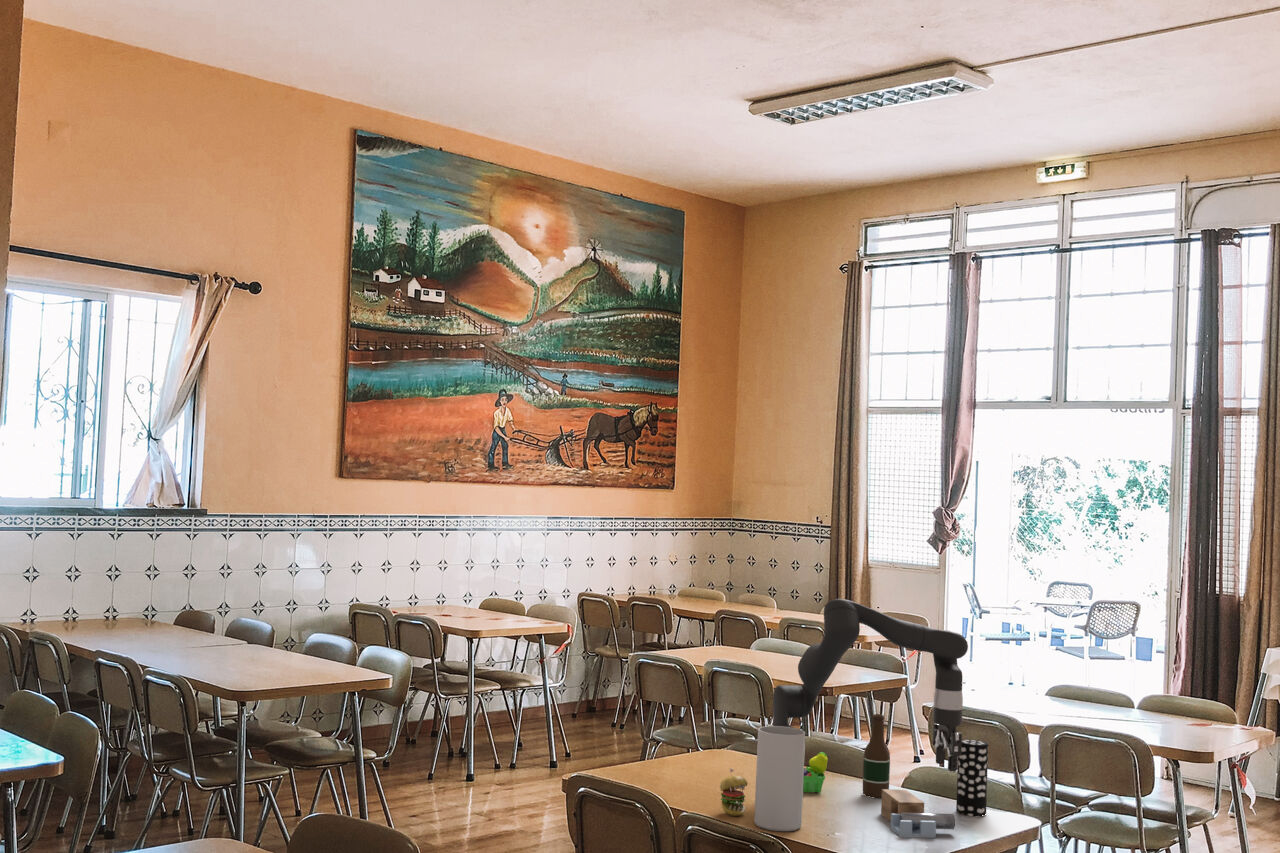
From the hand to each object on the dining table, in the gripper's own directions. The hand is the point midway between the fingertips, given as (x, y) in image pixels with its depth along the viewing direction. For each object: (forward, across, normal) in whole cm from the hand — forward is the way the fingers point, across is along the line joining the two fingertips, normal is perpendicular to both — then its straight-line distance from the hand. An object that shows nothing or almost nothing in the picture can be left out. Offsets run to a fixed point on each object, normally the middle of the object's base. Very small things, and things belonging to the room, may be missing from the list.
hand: (945, 767), depth 310 cm
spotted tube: (+18, +22, -17) cm, 33 cm away
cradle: (+17, 0, +9) cm, 19 cm away
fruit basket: (+18, +46, +23) cm, 55 cm away
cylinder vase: (+18, +4, +44) cm, 48 cm away
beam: (+17, +12, +7) cm, 22 cm away
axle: (+16, 0, +5) cm, 17 cm away
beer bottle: (+18, +40, +5) cm, 44 cm away
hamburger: (+18, +15, +54) cm, 59 cm away
